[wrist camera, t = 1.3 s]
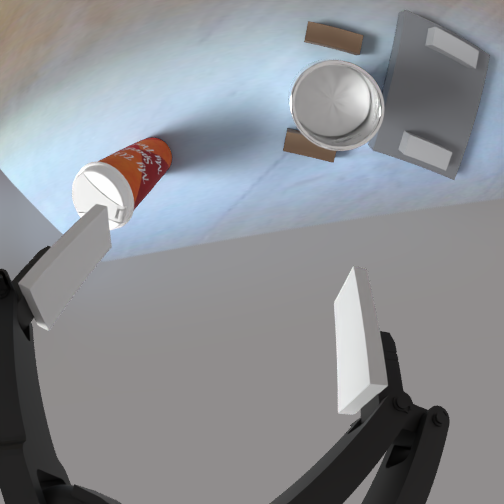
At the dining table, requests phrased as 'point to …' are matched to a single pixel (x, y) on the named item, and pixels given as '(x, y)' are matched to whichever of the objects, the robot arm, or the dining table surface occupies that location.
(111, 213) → the paper cup
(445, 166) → the grey tray with risers
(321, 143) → the beer glass
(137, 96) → the dining table surface
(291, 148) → the twin wooden blocks
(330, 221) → the dining table surface
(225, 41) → the dining table surface
